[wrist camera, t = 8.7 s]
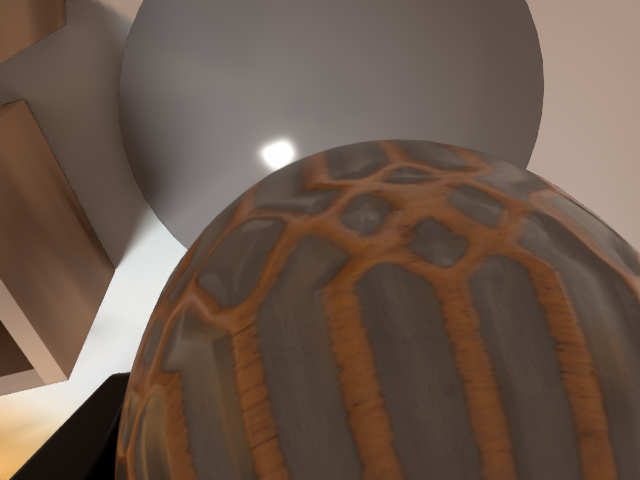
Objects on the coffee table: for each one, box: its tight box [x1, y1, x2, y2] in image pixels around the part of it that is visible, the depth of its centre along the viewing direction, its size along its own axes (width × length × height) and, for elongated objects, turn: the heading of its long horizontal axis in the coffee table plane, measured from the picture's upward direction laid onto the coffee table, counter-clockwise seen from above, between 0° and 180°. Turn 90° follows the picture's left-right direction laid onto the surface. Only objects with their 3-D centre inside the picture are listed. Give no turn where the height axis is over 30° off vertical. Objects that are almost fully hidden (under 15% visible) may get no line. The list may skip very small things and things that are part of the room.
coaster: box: [118, 0, 544, 249], centre depth 16 cm, size 12×12×1 cm
